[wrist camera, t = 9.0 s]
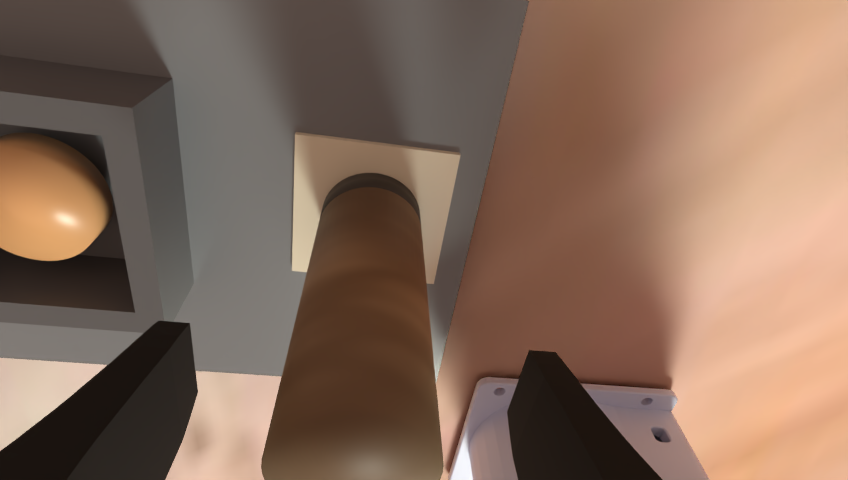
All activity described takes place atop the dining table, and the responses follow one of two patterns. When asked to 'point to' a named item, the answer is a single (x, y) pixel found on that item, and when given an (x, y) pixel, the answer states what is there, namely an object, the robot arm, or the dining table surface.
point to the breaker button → (49, 198)
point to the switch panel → (242, 156)
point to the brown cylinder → (360, 347)
